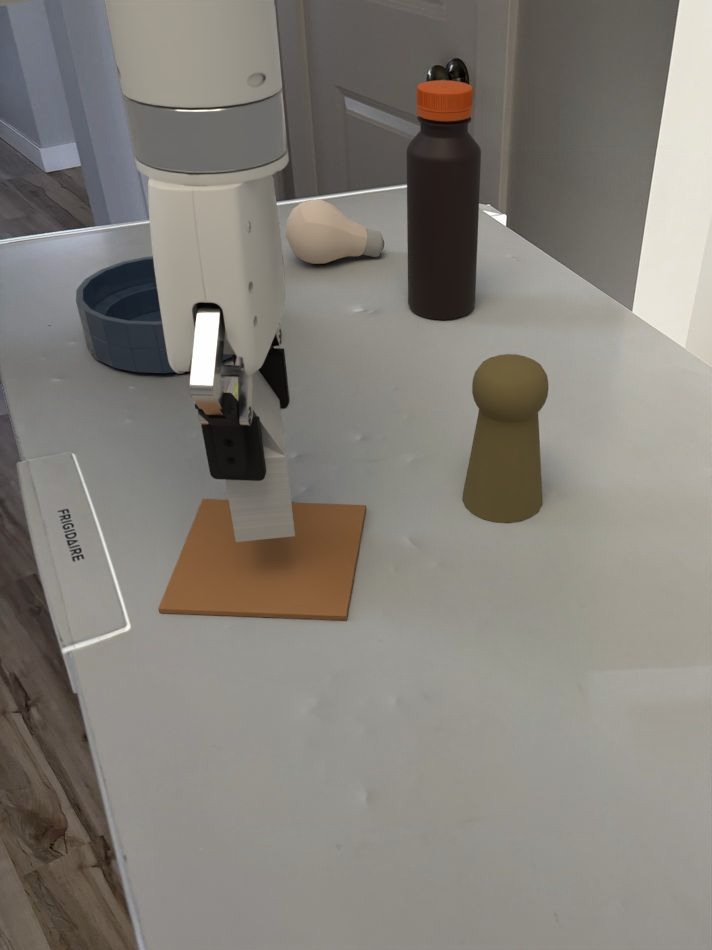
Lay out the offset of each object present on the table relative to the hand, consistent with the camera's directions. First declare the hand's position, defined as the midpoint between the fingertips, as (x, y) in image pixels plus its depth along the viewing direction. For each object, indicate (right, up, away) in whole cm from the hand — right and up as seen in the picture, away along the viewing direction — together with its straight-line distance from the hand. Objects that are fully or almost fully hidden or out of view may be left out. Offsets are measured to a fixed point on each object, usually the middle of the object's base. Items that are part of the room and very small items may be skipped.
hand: (252, 438), depth 57 cm
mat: (0, -7, +6) cm, 9 cm away
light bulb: (0, +27, +45) cm, 53 cm away
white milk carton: (0, -4, +4) cm, 5 cm away
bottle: (+11, +20, +37) cm, 43 cm away
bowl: (-14, +15, +30) cm, 37 cm away
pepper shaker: (+16, -2, +12) cm, 20 cm away
